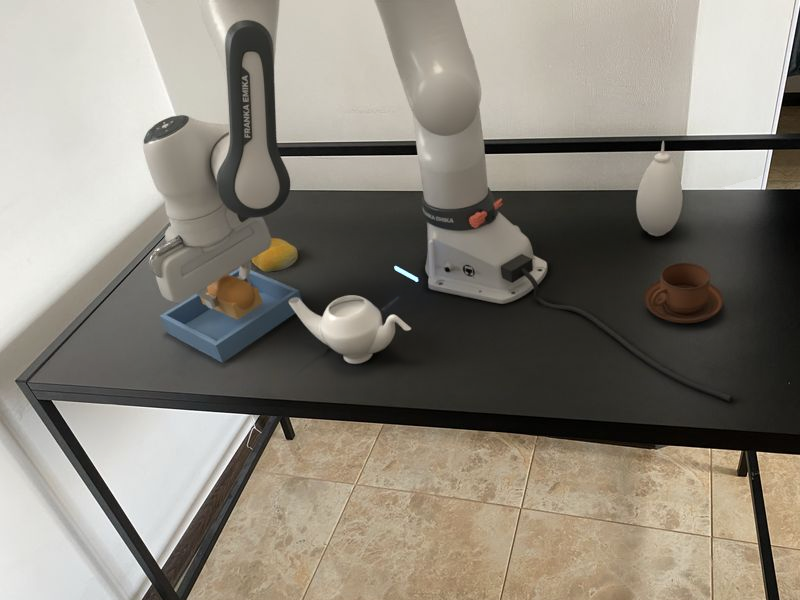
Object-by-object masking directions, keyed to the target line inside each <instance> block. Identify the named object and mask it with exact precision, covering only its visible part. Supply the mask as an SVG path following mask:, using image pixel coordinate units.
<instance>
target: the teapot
mask: <svg viewBox="0 0 800 600" xmlns="http://www.w3.org/2000/svg"><path fill="white" fill-rule="evenodd" d="M289 304H290V306H291V307H292V309H293V310H294V311H295V314H296V316H297V317H298V319H299V320H300V321H301V322H302V324H303V325H304V326H305V327H306V329H307V330H308V331H309V332H310V333H311V334H312V335H313V336H314V337H315V338H316V339H318V340H319V341H320V342H321V343H323V344H324V345H326V346H328V347H329V348H330V349H332V350H333V351H334V352H336V353H337V354H340V355H342V357H343V361H345V362H347V363H348V364H353V365H356V364H362V363H365V362H367V361H368V360H370V359H371V358H372V356H373V354H376V353H379V352H381V351H384V350H385V349H386V348H388V346H389V345H390V344H391V343H392V341H393V339H394V338H395V334H396V324H397V325H398V326H399V327H401V328H402V330H404V331H406V332H409V331H410V330H412V327H411V326H409V325H408V323H406V322H405V321H404V320H403V319H402V318H400V317H399V316H398V315H396V314H394V313H393V314H390V315H389V316H387V318H386V320H385V323H384V320H383V316H382V313H381V311H380V310H379V308H378V307H377V306H376V305H375V304H373V303H372V302H371V301H370V300H368V299H367V298H365V297H363V296H360V295H354V294H353V295H350V294H349V295H344V296H341V297H337V298H336V299H334V300H332V301H331V302H330V303H329V304H328V305H327V306H326V308H325V310H324V312H323V314H322V315H319V314H317V313H316V312H313V311H312V310H311V309H310V308H309V307H308V306H307V305H306V304H305V303H304V302H303V300H302V301H301V300H300V299H299V298H297V297H295V298H291V299H290V300H289Z"/></svg>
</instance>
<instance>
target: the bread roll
mask: <svg viewBox="0 0 800 600" xmlns="http://www.w3.org/2000/svg"><path fill="white" fill-rule="evenodd" d="M271 240H272V241H271V245H270V248H269V249H267V250H265V251H264V252H262V253H261V254H259V255H257V256H256V257H254V258H253V259H251V263H253V265H254V266H256V267H257V268H258V269H260V270H261V271H262V272H264V273H271V272H277V271H283V270H286V269H288V268H290V267H291V266H293V265H294V264H295V263H296V261H298V257H299V253H298V249H297V248H296V247H295V246H294V245H293V244H290V243H289V242H288V241H287V240H284V239H281V238H274V237H271Z"/></svg>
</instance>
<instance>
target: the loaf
mask: <svg viewBox="0 0 800 600" xmlns="http://www.w3.org/2000/svg"><path fill="white" fill-rule="evenodd" d="M229 274H230V273H228V274H227V275H225V276H224V277H222V278H220V279H219V280H217V281H216V282H214V283H212V284H211V285H209V286H208V287H207V290H208V292H207V293H205V294H207V295H209V294H212V295H213V296H217V298H218V302H219V305H218V306H217V307H215V308H214V309H215V310H217V311H220V312H222V313H224V314H226V315H228V316H231V317H233V318H235V319H237V320H239V319H240V318H242V317H243V316H244V315H246V314H247V313H249V312H250V311H252V310H253V309H255V308H256V307H258V306H259V305H261V304H262V303H263V302H262V299H261V296H260V293H259V291H258V288H255V287H253V286H251V285H250V284H249V283H248V282H246V281H244V280H241V279H239V278H236V277H234V276H231V275H229ZM200 298H201V297H200ZM201 300H202V303H203V304H204V305H206V303H205V301H204V299H203V298H201Z"/></svg>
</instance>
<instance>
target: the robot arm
mask: <svg viewBox="0 0 800 600" xmlns="http://www.w3.org/2000/svg"><path fill="white" fill-rule="evenodd" d="M280 3H281V1H280V0H198V4H199V9H200V13H201V18H202V21H203V24H204V27H205V28H206V30H207V33H208V36H209V37H210V39H211V42H212V44H213V46H214V48H215V50H216V53H217V56H218V59H219V61H220V64H221V66H222V71H223V74H224V80H225V86H226V87H225V88H226V103H227V118H228V119H227V120H228V123H214V122H213V123H212V122H207V121H202V120H199V119H196V118H193V117H191V116H189V115H185V114H179V115H173V116H170V117H166V118H164V119H162V120H160V121H159V122H157V123H156V124H155V123H154V124H153V125H152V127H150V128H149V129H148V130H147V132H146V134H145V135H144V137H143V143H142V145H143V147H142V148H143V154H144V157H145V162H146V165H147V167H148V171H149V173H150V176H151V179H152V181H153V184H154V187H155V189H156V191H157V192H158V194H159V195H160V196H161V197H162V199H163V201H164V204H165V205H164V207H165V213H166V215H167V218H168V221H169V223H170V226H171V225H172V228H173V230H174V233H175V235H176V237H175V238H174V239H172V240H170V241H169V242H166V243H165V244H163V245H159V246H158V247H156V248H155V249H154V250H153V253H152V254H151V255H150V258H149V260H148V264H149V266H150V268H151V271H152V273H153V274H154V276H155V279H156V284H157V286H158V289H159V291H160V294H161V296H162V297H163V298H164V299H166V300H167V301H169V302H172V303H175V304H180V303H182V302H184V301H185V300H187V299H189V298H190V297H192V296H194V295H195V294H197V295H198V296H200V297H201V298H203V299H204V301H205V303H206V305H207V307H208V308H210V309H214V308H215V307H217V306H218V305H219V302H218V298H217V296H213V295H212V294H209V295H207V294H205V293H207V292H208V290H207V287H208V286H209V285H211V284H212V283H214V282H216V281H217V280H219V279H220V278H222V277H224V276H225V275H227V274H230V273H232V272H234V271H235V270H237V269H239V268H240V270H239V276H238V277H236V278H239V279H241V280H244V281H246V282H248V283H249V284H250V285H251V282H250V279H249V275H250V270H251V269H252V262H251V261H252V259H253V258H254V257H256V256H257V255H259V254H261V253H262V252H264V251H265V250H267V249H269V248H270V245H271V241H272V240H271V238H272V236H271V232H270V230H269V227H268V225H267V223H266V221H265V219H264V217H267V216H269V215H271V214H273V213H274V212H276V211H278V210H279V209H280V208H281V207H282V206H283V205H284V203H286V201H287V200H288V197H289V196H290V195H289V194H290V190H291V178H290V177H291V176H290V174H289V171H288V169H287V167H286V165H285V163H284V160H283V158H282V156H281V154H280V151H279V146H278V139H277V115H276V111H277V110H276V87H275V86H276V85H275V63H276V49H277V36H278V34H277V33H278V26H279V25H278V24H279V16H280V15H279V14H280ZM374 3H375V6H376V9H377V12H378V14H379V17H380V20H381V23H382V26H383V29H384V32H385V36H386V39H387V42H388V46H389V49H390V52H391V55H392V58H393V61H394V64H395V67H396V70H397V73H398V77H399V80H400V83H401V86H402V88H403V92H404V94H405V97H406V100H407V103H408V106H409V108H410V111H411V112H412V113H411V114H412V118H413V119H412V121H413V129H414V135H415V137H414V138H415V144H416V152H417V160H418V167H419V173H420V180H421V187H422V193H423V194H422V195H421V196H422V197H421V203H422V205H421V206H422V208H421V209H422V213H423V218H424V221H426V229H427V251H426V252H427V253H426V261H425V265H424V266H425V267H424V268H425V273H426V275H427V276H428V279H427V280H428V281H427V285H428V286H427V287H428V289H430V290H432V291H436V292H440V293H445V294H450V295H455V296H460V297H464V298H471V299H475V300H481V301H485V302H490V303H495V304H500V305H504V304H508V303H512V302H514V301H517V300H519V299H521V298H522V297H524V296H526V295H527V294H529V293H530V292H531V291H532V290H533V297H534V299H535V301H536V302H538V303H539V304H540V305H541V306H545V307H548V308H549V307H550V308H554V309H557V310H562V311H568V312H574V313H577V314H578V315H580V316H582V317H584V318H586V319H587V320H589V321H590V322H592V323H593V324H595V325H596V326H598V327H599V328H600V329H601V330H603V332H605V333H606V334H608V335H610V336H611V337H612V338H613V339H615V340H616V341H617V342H619V343H620V344H621V345H622V346H623V347H625V349H627V350H629V351H630V353H632V354H634V355H635V356H637V357H638V358H639V359H641V360H642V361H643V362H645V363H647V364H648V365H649V366H651V367H653V368H654V369H656V370H658V371H659V372H661V373H662V374H664V375H666V376H668V377H669V378H671V379H673V380H675V381H678V382H679V383H682V384H683V385H686V386H688V387H690V388H692V389H695V390H697V391H701V392H702V393H705V394H708V395H711V396H713V397H716V398H719V399H722V400H724V401H727V402H730V401H731V400H732V395H730V394H728V393H725V392H722V391H720V390H717V389H714V388H712V387H709V386H706V385H704V384H701V383H698V382H695V381H693V380H691V379H689V378H686V377H685V376H683V375H680V374H678V373H677V372H675V371H673V370H671V369H669V368H667V367H665V366H664V365H662V364H660V363H659V362H657V361H655V360H654V359H653V358H651V357H649V356H648V355H647V354H645V353H643V352H642V351H640V350H639V349H638V348H637V347H635V346H634V345H632V344H631V343H630V342H629V341H627V340H626V339H625V338H624V337H622V336H621V335H620V334H618V333H617V332H616V331H614V330H613V329H612V328H611V327H609V326H607V325H606V324H605V323H604V322H602V321H601V320H600V319H598V318H597V317H595V315H593V314H591V313H590V312H588V311H586V310H585V309H582V308H580V307H577V306H573V305H567V304H554V303H551V302H548V301H546V300H544V299H543V298H542V297H541V296H540V291H539V290H540V289H539V285H540V284H541V282H542V281H543V280H544V278H545V277H546V275H547V273H548V262H547V261H545V259H543V258H540V257H538V256H536V255H534V251H533V246H532V244H531V241H530V239H529V237H528V236H526V235H525V234H524V233H523V232H522V231H521V228H520V227H519V226H518V225H515V224H513V223H512V222H511V221H510V220H508V219H507V217H505V216H504V215H503V214H502V213H501V212H500V209H499V208H500V207H501V206H502V205H503V202H502V201H503V198H499V199H497V200H495V197H494V195H493V193H492V191H491V189H490V187H489V183H488V174H487V161H486V152H485V142H484V135H483V126H482V118H481V109H480V105H481V100H482V86H481V81H480V77H479V74H478V70H477V69H478V68H477V66H476V63H475V58H474V54H473V52H472V50H471V48H470V45H469V42H468V39H467V35H466V32H465V29H464V26H463V22H462V19H461V16H460V13H459V9H458V6H457V3H456V0H374ZM394 270H395V271H396V272H398V273H400V274H402V275H404V276H406V277H407V278H409V279H411V280H413V281H415V282H416V283H417V282H419V277H417V276H415V275H413V274H412V273H409V272H408V271H406V270H404V269H402V268H400V267H399V266H397V265H395V266H394Z"/></svg>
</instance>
